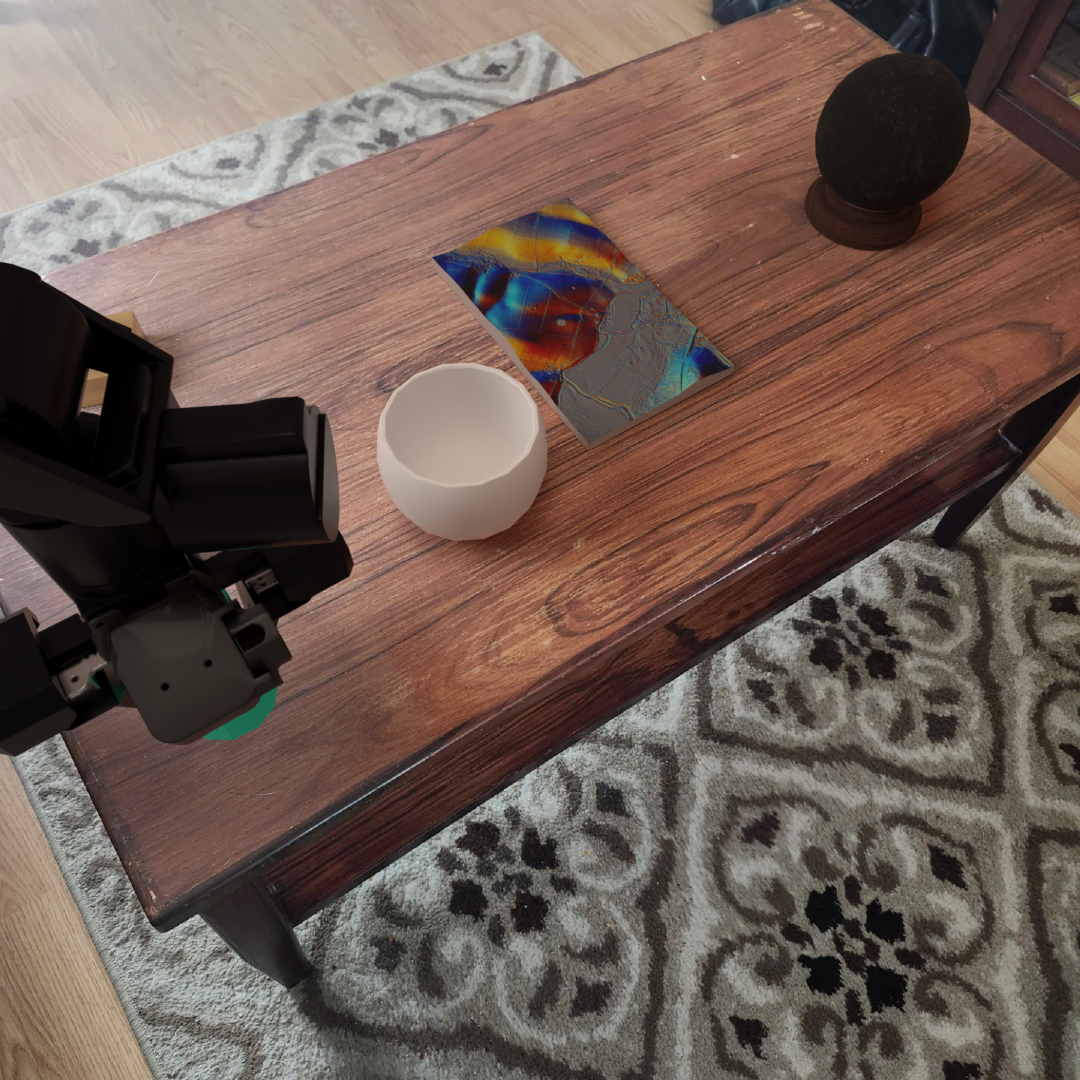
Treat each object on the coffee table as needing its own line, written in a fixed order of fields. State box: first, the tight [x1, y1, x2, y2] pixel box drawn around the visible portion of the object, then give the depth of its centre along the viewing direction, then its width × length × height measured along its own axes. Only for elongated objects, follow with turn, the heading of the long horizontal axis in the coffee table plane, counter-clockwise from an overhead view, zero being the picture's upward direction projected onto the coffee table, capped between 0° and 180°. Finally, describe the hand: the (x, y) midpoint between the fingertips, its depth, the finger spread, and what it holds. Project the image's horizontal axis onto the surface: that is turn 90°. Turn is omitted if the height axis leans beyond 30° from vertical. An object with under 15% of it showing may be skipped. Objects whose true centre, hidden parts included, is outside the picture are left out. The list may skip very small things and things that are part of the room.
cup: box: [376, 362, 548, 542], centre depth 67 cm, size 12×12×10 cm
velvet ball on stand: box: [804, 52, 972, 252], centre depth 83 cm, size 13×13×15 cm
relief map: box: [431, 196, 736, 451], centre depth 81 cm, size 25×15×2 cm, turn 33°
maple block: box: [81, 310, 146, 409], centre depth 77 cm, size 7×7×3 cm
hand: (211, 671), depth 53 cm, fingers closed on candle, 6 cm apart
